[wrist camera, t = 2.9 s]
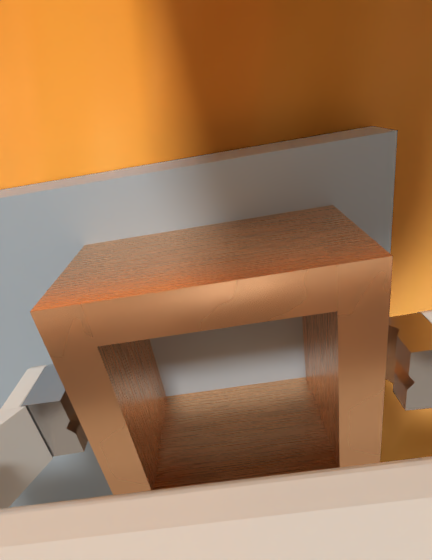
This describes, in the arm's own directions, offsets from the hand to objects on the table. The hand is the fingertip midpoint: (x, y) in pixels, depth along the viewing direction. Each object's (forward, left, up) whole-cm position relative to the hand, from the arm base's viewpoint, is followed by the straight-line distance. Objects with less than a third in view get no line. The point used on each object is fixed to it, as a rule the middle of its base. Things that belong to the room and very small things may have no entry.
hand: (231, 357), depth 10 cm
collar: (0, 0, -1) cm, 1 cm away
